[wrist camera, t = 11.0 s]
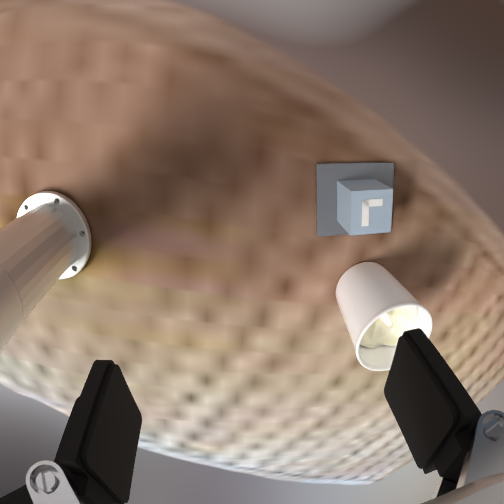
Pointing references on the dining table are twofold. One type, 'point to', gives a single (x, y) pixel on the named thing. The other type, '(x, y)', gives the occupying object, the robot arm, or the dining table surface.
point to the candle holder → (378, 313)
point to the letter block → (364, 206)
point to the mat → (328, 189)
